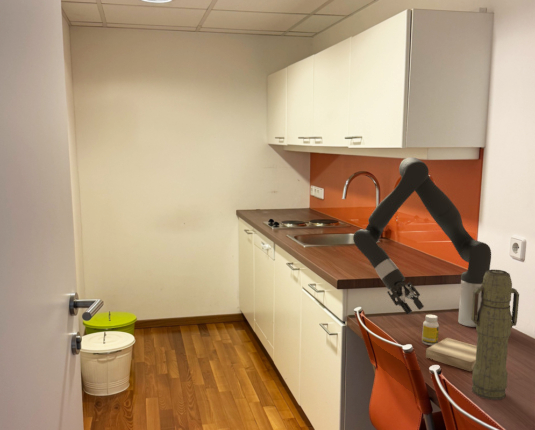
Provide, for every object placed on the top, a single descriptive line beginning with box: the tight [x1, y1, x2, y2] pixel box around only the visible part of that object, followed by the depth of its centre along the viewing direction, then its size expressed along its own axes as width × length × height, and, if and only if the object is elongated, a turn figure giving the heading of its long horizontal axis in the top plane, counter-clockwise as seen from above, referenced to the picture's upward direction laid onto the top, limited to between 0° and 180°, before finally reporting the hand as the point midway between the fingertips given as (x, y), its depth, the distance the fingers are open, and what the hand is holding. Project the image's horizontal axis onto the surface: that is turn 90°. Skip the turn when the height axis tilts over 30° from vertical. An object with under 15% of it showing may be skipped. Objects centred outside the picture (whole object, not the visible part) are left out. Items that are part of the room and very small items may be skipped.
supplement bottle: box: [421, 314, 440, 346], centre depth 185 cm, size 5×5×10 cm
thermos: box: [471, 269, 520, 401], centre depth 145 cm, size 9×12×35 cm
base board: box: [425, 337, 477, 372], centre depth 172 cm, size 15×15×3 cm
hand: (415, 310), depth 188 cm, fingers open, 8 cm apart
